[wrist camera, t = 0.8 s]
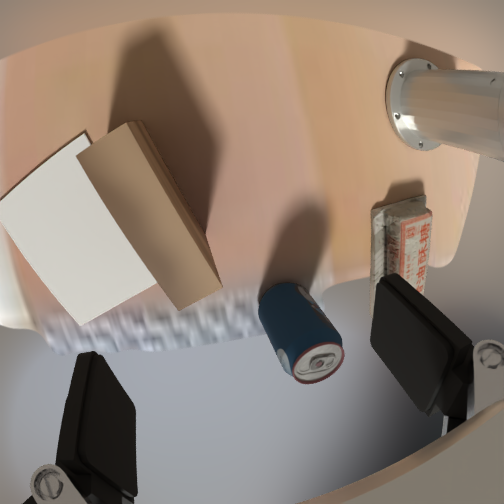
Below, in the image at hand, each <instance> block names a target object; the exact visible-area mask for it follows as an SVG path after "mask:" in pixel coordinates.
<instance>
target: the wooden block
mask: <svg viewBox="0 0 504 504" xmlns="http://www.w3.org/2000/svg"><path fill="white" fill-rule="evenodd" d="M76 158H77V159H78V161H79V163H80V165H81V166H82V168H83V170H84V171H85V173H86V175H87V177H88V178H89V180H90V182H91V183H92V185H93V187H94V188H95V190H96V191H97V193H98V195H99V196H100V198H101V200H102V201H103V203H104V204H105V206H106V208H107V209H108V211H109V212H110V214H111V215H112V217H113V218H114V220H115V222H116V223H117V225H118V226H119V228H120V229H121V231H122V232H123V234H124V235H125V237H126V238H127V240H128V241H129V243H130V244H131V246H132V247H133V249H134V250H135V251H136V253H137V254H138V256H139V257H140V259H141V260H142V262H143V263H144V264H145V266H146V267H147V269H148V270H149V271H150V273H151V274H152V276H153V277H154V278H155V280H156V281H157V283H158V284H159V285H160V287H161V288H162V289H163V291H164V292H165V293H166V295H167V296H168V297H169V299H170V300H171V301H172V303H173V304H174V305H175V307H176V308H177V309H178V311H180V310H181V309H183V308H185V307H187V306H189V305H191V304H193V303H195V302H197V301H199V300H200V299H202V298H204V297H206V296H208V295H210V294H212V293H214V292H215V291H217V290H219V289H221V288H223V286H222V283H221V280H220V277H219V274H218V271H217V268H216V265H215V262H214V259H213V256H212V253H211V250H210V247H209V244H208V241H207V238H206V235H205V233H204V231H203V230H202V228H201V226H200V225H199V223H198V221H197V219H196V218H195V216H194V214H193V212H192V211H191V209H190V207H189V205H188V204H187V202H186V200H185V198H184V197H183V195H182V193H181V191H180V190H179V188H178V186H177V184H176V182H175V181H174V179H173V177H172V175H171V174H170V172H169V170H168V168H167V166H166V165H165V163H164V161H163V159H162V157H161V156H160V154H159V152H158V150H157V148H156V146H155V145H154V143H153V141H152V139H151V137H150V135H149V134H148V132H147V130H146V128H145V126H144V124H143V123H142V121H141V120H139V121H132V122H126V123H124V124H123V125H121V126H119V127H118V128H116V129H115V130H113V131H111V132H110V133H108V134H107V135H105V136H104V137H102V138H101V139H99V140H98V141H96V142H95V143H93V144H92V145H90V146H89V147H87V148H86V149H84V150H83V151H82V152H80V153H79V154H77V155H76Z"/></svg>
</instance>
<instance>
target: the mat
mask: <svg viewBox="0 0 504 504" xmlns="http://www.w3.org/2000/svg"><path fill="white" fill-rule="evenodd" d="M90 145H91V143H90V141H89V139H88V138H87V136H86V134H85V133H84V134H82V135H81V136H80V137H78V138H77V139H75V140H74V141H73V142H71V143H70V144H68V145H67V146H66V147H64V148H63V149H62V150H60V151H59V152H58V153H56V154H55V155H54V156H53V157H51V158H50V159H49V160H47V161H46V162H45V163H44V164H42V165H41V166H40V167H39V168H38V169H36V170H35V171H34V172H33V173H32V174H30V175H29V176H28V177H27V178H26V179H24V180H23V181H22V182H21V183H20V184H19V185H18V186H17V187H15V188H14V189H13V190H12V191H11V192H10V193H9V194H8V195H7V196H6V197H5V198H3V199H2V200H1V201H0V221H1V222H2V224H3V226H4V227H5V229H6V230H7V232H8V233H9V235H10V236H11V238H12V239H13V241H14V242H15V244H16V245H17V247H18V248H19V250H20V251H21V253H22V254H23V255H24V257H25V258H26V260H27V261H28V262H29V264H30V265H31V266H32V268H33V269H34V271H35V272H36V273H37V275H38V276H39V277H40V278H41V280H42V281H43V282H44V284H45V285H46V286H47V287H48V289H49V290H50V291H51V292H52V294H53V295H54V296H55V297H56V298H57V300H58V301H59V302H60V303H61V304H62V306H63V307H64V308H65V309H66V310H67V312H68V313H69V314H70V315H71V316H72V317H73V318H74V320H75V321H76V322H77V323H78V324H79V325H80V326H82V325H83V324H85V323H87V322H89V321H90V320H92V319H94V318H96V317H97V316H99V315H101V314H103V313H104V312H106V311H108V310H110V309H111V308H113V307H115V306H117V305H118V304H120V303H122V302H124V301H126V300H127V299H129V298H131V297H133V296H134V295H136V294H138V293H140V292H142V291H143V290H145V289H147V288H149V287H151V286H152V285H154V284H156V283H157V281H156V280H155V278H154V277H153V276H152V274H151V273H150V271H149V270H148V269H147V267H146V266H145V264H144V263H143V262H142V260H141V259H140V257H139V256H138V254H137V253H136V251H135V250H134V249H133V247H132V246H131V244H130V243H129V241H128V240H127V238H126V237H125V235H124V234H123V232H122V231H121V229H120V228H119V226H118V225H117V223H116V222H115V220H114V218H113V217H112V215H111V214H110V212H109V211H108V209H107V208H106V206H105V204H104V203H103V201H102V200H101V198H100V196H99V195H98V193H97V191H96V190H95V188H94V187H93V185H92V183H91V182H90V180H89V178H88V177H87V175H86V173H85V171H84V170H83V168H82V166H81V165H80V163H79V161H78V159H77V158H76V155H77V154H79V153H80V152H82V151H83V150H84V149H86V148H87V147H89V146H90Z"/></svg>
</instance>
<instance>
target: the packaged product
mask: <svg viewBox="0 0 504 504" xmlns="http://www.w3.org/2000/svg"><path fill="white" fill-rule="evenodd" d="M431 226H432V211H431V210H429V209H428V208H426V195H421V196H417V197H414V198H410V199H406V200H403V201H399V202H396V203H393V204H389V205H386V206H382V207H379V208H376V209H372V210H371V268H370V308H369V314H370V316H371V317H372V319H373V312H374V302H375V291H376V284H377V283H379V280H380V278H381V277H383V276H386V275H389V274H392V273H397V274H399V275H400V276H401V277H402V278H404V279H405V280H406V281H407V282H408V283H409V284H410V285H412V286H413V287H414V288H415V289H416V290H417V291H418V292H420V293H421V294H422V295H423V294H424V287H425V280H426V274H427V266H428V257H429V248H430V237H431Z"/></svg>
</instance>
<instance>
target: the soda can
mask: <svg viewBox="0 0 504 504" xmlns="http://www.w3.org/2000/svg"><path fill="white" fill-rule="evenodd" d="M258 315H259V318H260V321H261V323H262V325H263V327H264V329H265V331H266V333H267V335H268V337H269V339H270V342H271V344H272V346H273V348H274V350H275V352H276V355H277V357H278V359H279V361H280V363H281V365H282V367H283V369H284V371H285V372H286V373H288V374H289V375H291V376H293V377H294V378H295V380H296V381H298V382H300V383H302V384H313V383H317V382H320V381H322V380H324V379H326V378H328V377H330V376H331V375H332V374H333V373H335V372H336V371H337V370H338V368H339V367H340V366H341V364H342V362H343V360H344V350H343V348H342V338H341V336H340V334H339V333H338V331H337V330H336V329H335V328H334V326H333V325H332V323H331V322H330V321H329V319H328V318H327V317H326V315H325V314H324V313H323V311H322V310H321V309H320V307H319V306H318V305H317V303H316V302H315V301H314V299H313V298H312V297H311V295H310V294H309V293H308V291H307V290H306V289H305V288H304V287H302V286H301V285H298V284H294V283H281V284H277V285H275V286H273V287H272V288H270V289H269V290H268V291H267V292H266V293H265V294H264V296H263V298H262V300H261V302H260V304H259V309H258Z"/></svg>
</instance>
